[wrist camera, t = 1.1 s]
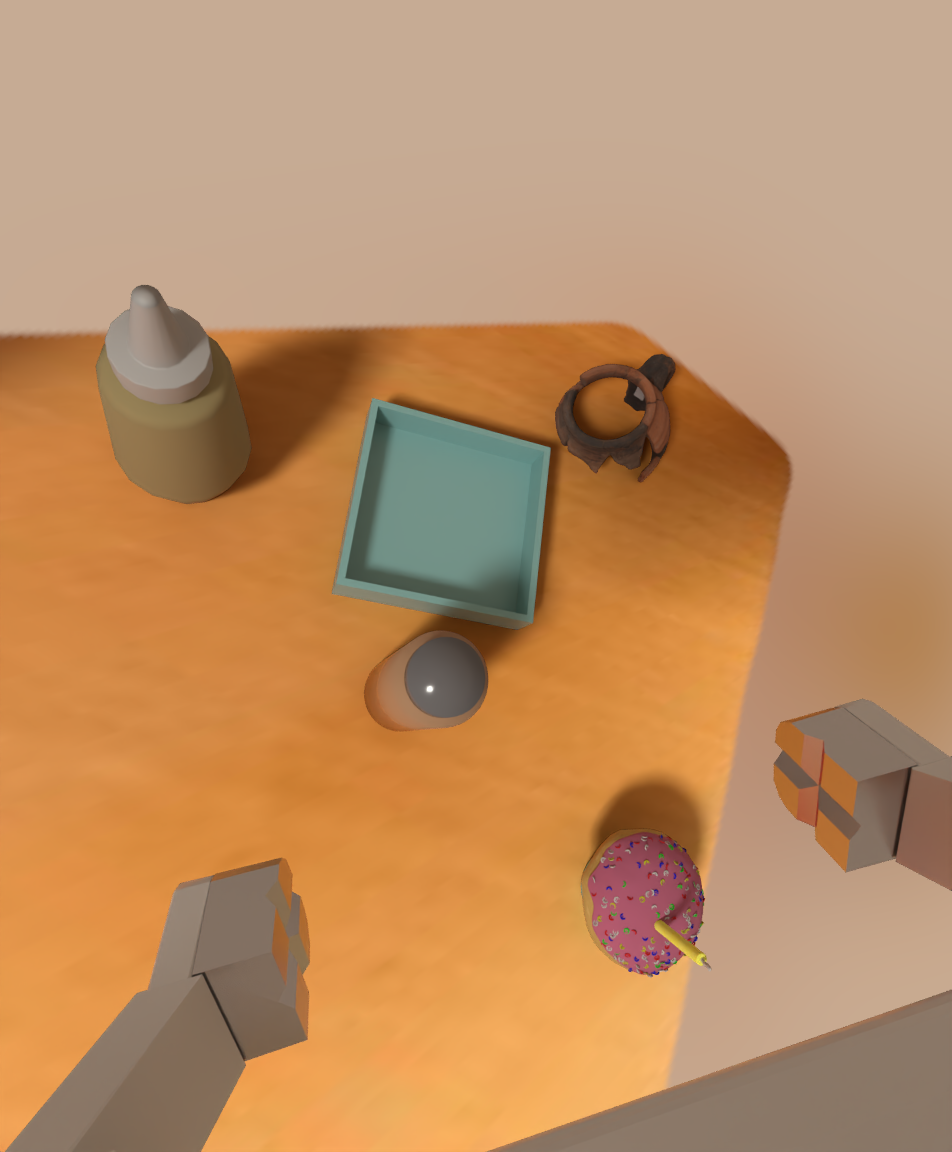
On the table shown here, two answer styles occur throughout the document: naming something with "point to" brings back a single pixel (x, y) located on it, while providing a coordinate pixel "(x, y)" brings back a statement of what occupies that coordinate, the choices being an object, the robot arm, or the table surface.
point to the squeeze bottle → (171, 403)
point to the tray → (444, 518)
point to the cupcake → (643, 901)
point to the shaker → (428, 684)
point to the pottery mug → (639, 395)
